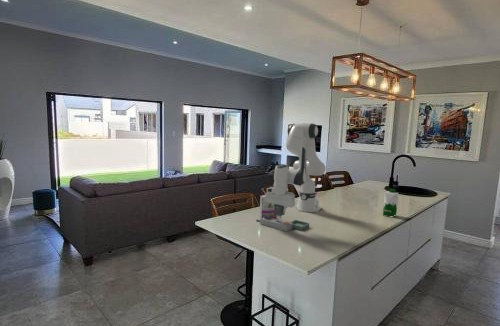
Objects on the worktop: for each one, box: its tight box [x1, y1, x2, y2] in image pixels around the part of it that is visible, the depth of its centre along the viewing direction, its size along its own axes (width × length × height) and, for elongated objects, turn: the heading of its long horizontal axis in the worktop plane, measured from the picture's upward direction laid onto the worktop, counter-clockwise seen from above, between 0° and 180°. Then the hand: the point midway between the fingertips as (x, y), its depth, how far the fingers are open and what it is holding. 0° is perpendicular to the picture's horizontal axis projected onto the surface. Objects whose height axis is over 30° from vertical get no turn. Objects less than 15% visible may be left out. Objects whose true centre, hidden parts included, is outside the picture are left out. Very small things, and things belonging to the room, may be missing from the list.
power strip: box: [256, 215, 293, 232], centre depth 189 cm, size 26×7×6 cm, turn 52°
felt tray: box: [289, 219, 310, 232], centre depth 188 cm, size 10×10×2 cm
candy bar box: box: [259, 194, 278, 220], centre depth 203 cm, size 11×5×16 cm, turn 105°
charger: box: [274, 205, 286, 219], centre depth 186 cm, size 5×5×8 cm
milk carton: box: [382, 188, 399, 217], centre depth 221 cm, size 9×9×20 cm
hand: (279, 211), depth 186 cm, fingers closed on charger, 5 cm apart
